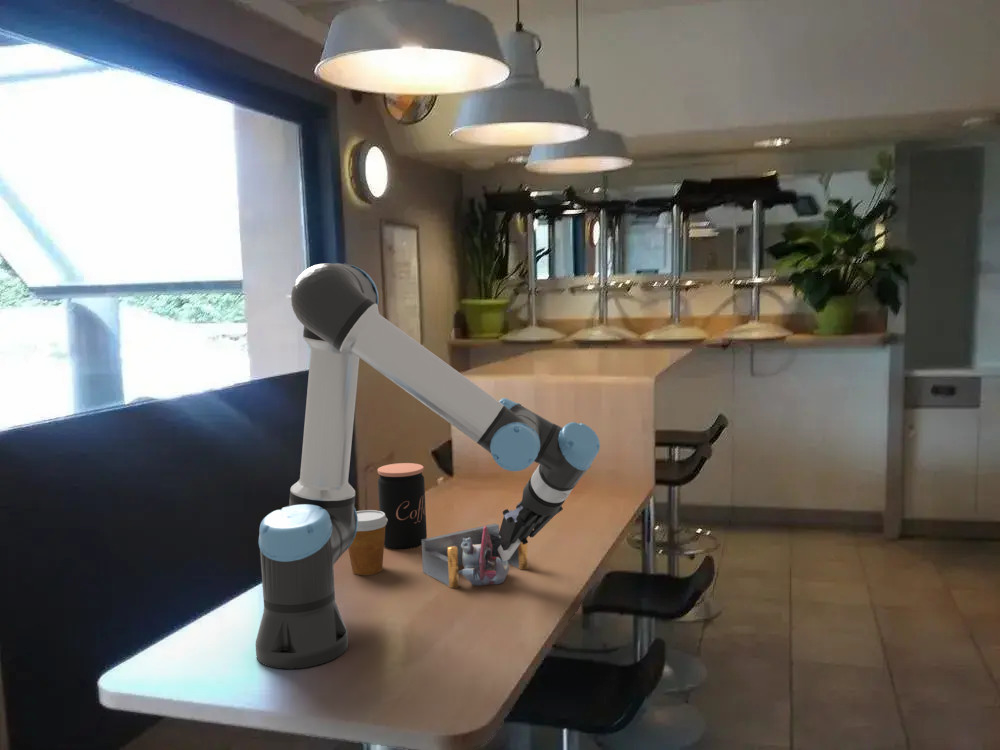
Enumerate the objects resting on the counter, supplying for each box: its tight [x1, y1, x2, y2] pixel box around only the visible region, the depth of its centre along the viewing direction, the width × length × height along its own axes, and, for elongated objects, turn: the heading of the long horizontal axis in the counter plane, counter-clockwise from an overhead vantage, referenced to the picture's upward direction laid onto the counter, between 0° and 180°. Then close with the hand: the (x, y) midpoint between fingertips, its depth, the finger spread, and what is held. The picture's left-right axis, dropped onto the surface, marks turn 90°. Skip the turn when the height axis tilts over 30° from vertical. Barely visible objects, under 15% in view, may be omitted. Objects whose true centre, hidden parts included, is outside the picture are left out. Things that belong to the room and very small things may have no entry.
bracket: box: [421, 523, 529, 589], centre depth 183 cm, size 19×12×8 cm, turn 124°
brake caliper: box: [458, 525, 510, 586], centre depth 178 cm, size 11×11×12 cm
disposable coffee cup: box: [347, 509, 388, 576], centre depth 186 cm, size 10×10×12 cm
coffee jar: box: [376, 462, 428, 551], centre depth 203 cm, size 11×11×18 cm
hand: (503, 554), depth 176 cm, fingers closed
